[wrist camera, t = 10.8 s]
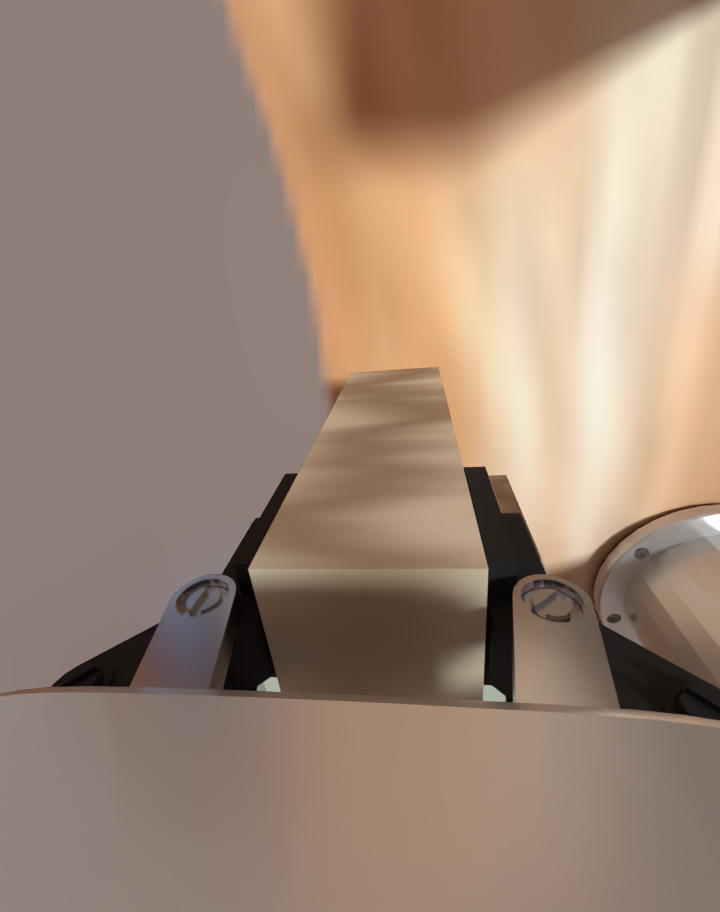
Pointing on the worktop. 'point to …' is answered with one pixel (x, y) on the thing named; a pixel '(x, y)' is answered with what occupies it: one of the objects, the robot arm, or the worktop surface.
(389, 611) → the block
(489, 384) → the worktop surface
